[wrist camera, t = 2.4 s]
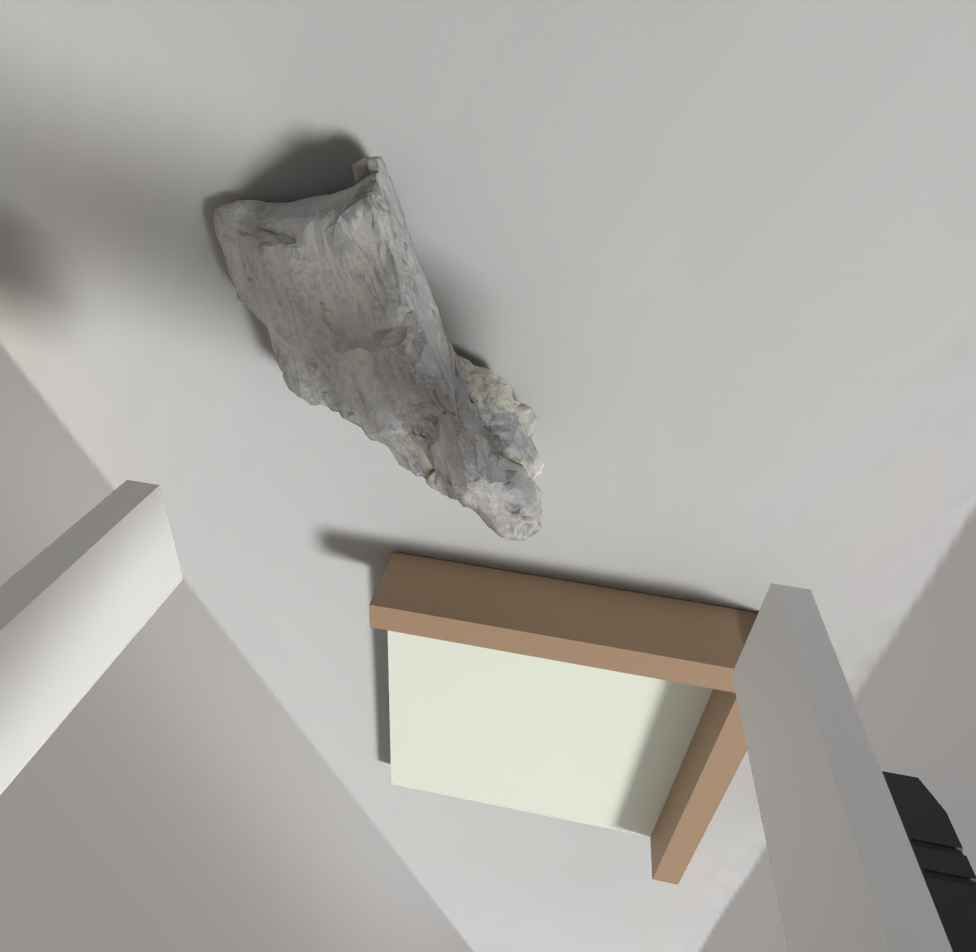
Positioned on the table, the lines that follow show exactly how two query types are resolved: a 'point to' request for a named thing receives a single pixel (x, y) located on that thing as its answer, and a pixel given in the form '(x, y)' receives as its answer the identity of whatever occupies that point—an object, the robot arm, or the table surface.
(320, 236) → the stone
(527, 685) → the corner
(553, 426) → the table surface
